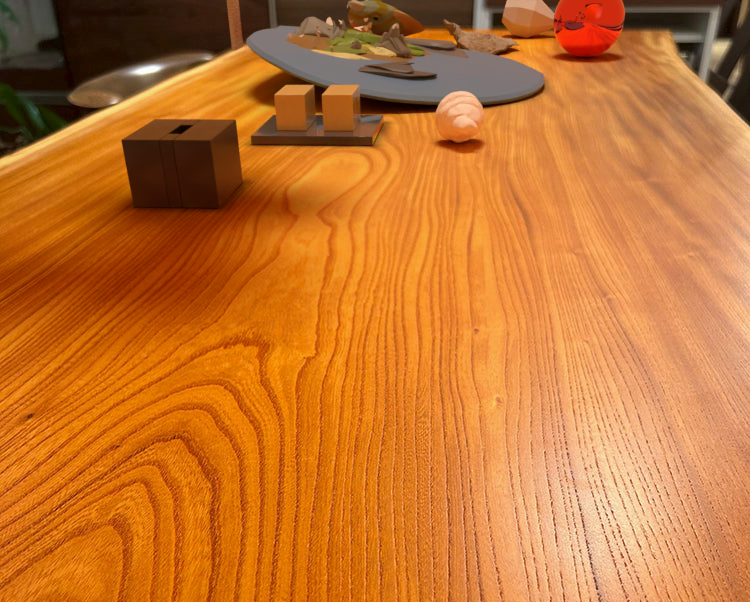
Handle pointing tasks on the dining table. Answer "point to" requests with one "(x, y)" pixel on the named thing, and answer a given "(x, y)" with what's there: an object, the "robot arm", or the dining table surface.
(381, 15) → the decorative fish sculpture
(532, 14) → the faceted beige polyhedron
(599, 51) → the ball
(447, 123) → the peach ridged curved piece
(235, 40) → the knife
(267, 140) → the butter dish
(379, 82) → the serving platter
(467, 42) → the coral
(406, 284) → the dining table surface
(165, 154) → the brown slotted box
